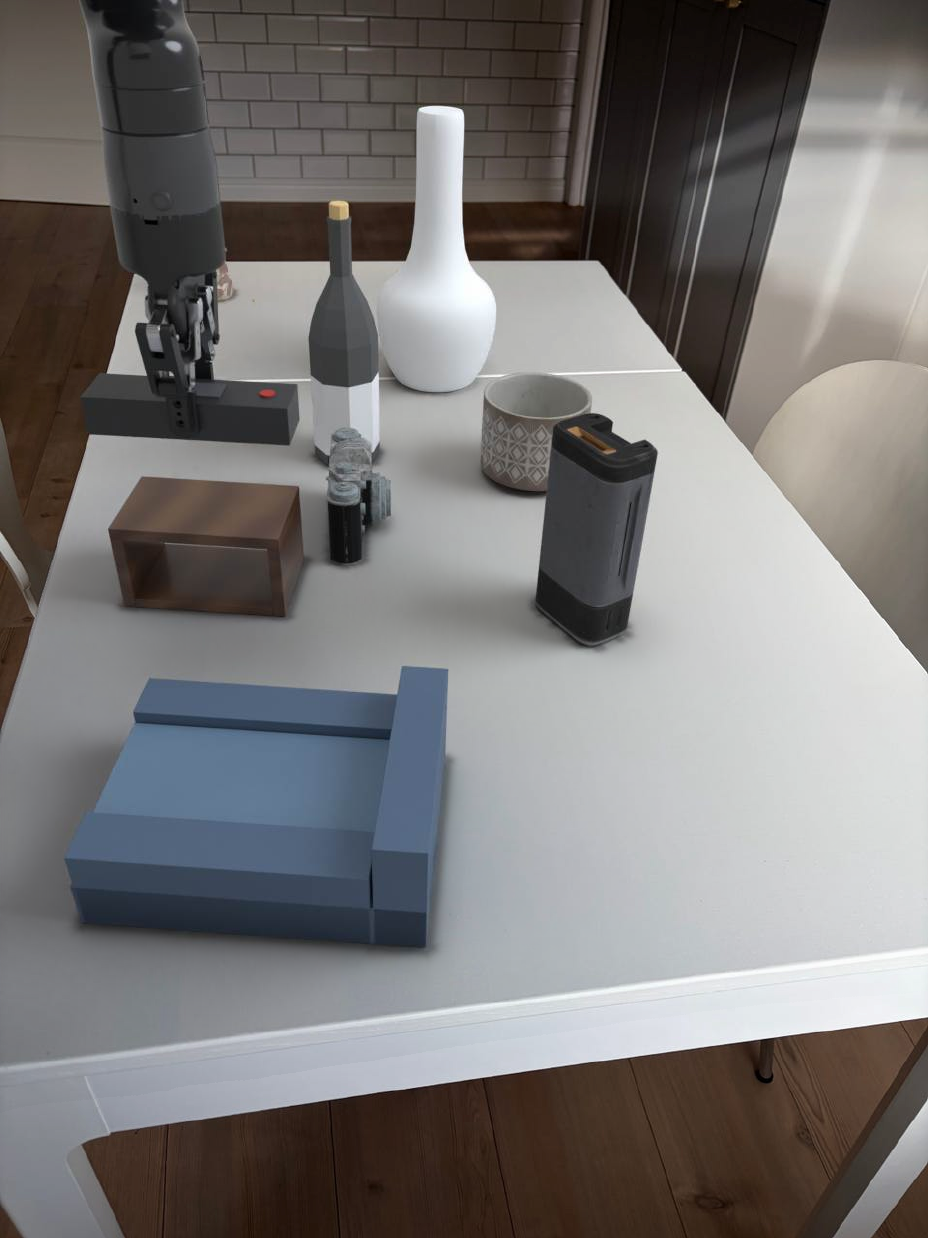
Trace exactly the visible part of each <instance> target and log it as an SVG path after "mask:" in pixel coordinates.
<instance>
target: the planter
mask: <svg viewBox="0 0 928 1238" xmlns="http://www.w3.org/2000/svg"><path fill="white" fill-rule="evenodd" d="M592 405H593V395H592V394H591V392H590V391H589V390H588V388H587V387H585V386H584V385H583V384H582V383H579V382H578V381H576V380H573V379H571V378H568V377H566V376H562V375H558V374H554V373H553V374H552V373H546V372H533V371H531V372H527V371H526V372H516V373H509V374H506V375H502V376H499V377H497V378H495V379H492V380H491V381H490V382H488V383H487V384H486V386H485V387H484V390H483V404H482V418H481V419H482V421H481V438H480V439H481V440H480V458H479V462H480V463H479V464H480V468H481V470H482V471H483V472H484V474H485V475H486V476H487V477H488V478H489V479H491V480H492V481H494V482H496V483H498V484H500V485H502V486H505V487H507V488H511V489H514V490H515V489H516V490H520V491H529V492H547V483H548V473H549V463H550V453H551V444H552V434H553V427H554V426H555V425H556V424H557V423H559V422H560V421H563V420H566V419H569V418H573V417H576V416H580V415H583V414H588V413H592V412H591V411H592Z"/></svg>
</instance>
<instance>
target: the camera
mask: <svg viewBox="0 0 928 1238" xmlns="http://www.w3.org/2000/svg"><path fill="white" fill-rule="evenodd" d="M327 467H328V475H327V476H325V480H326V481H328V482H327V491H326V501H327V517H328V519H327V520H328V534H329V536H328V537H329V538H328V539H329V556H330V557H329V560H330V561H331V562H332V563H334V564H337V565H343V566H346V565H349V566H350V565H354V564H358V563H359V562H361V561H362V559H363V558H362V557H363V534H365V529H366V527H368V526H373V525H374V524H381V522H382V520H386V519H387V517H391V516H392V491H391V487H392V486H391V479H389V478H387V479H386V477H385V476H382V475H381V473H380V472H373V463H372V445H371V443H370V442H369V441H368V440H366V439H365V438H361V434H359V433H358V431H357V430H356V429H354V428H340V429H338V430H336V431H335V433H333V434H331V445H330V458H328V466H327Z"/></svg>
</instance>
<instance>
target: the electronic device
mask: <svg viewBox="0 0 928 1238" xmlns="http://www.w3.org/2000/svg"><path fill="white" fill-rule="evenodd" d="M613 425H614V422H613V420H612V419H611V418H609V417H607V416H606V415H603V414H601V413H597V412H591V413H588V414H583V415H580V416H576V417H573V418H569V419H566V420H563V421H560V422H559V423H557V424H556V425H555V426H554V427H553V434H552V444H551V453H550V463H549V473H548V483H547V491H545V492H546V493H545V503H544V505H545V506H544V513H543V523H542V533H541V542H540V550H539V551H540V553H539V561H538V562H539V563H538V570H537V571H538V572H537V579H536V581H537V582H536V592H535V600H534V601H535V605H536V607H537V608H538V609H539V610H540V611H541V612H543V614H545V615H546V616H547V617H549V619H551V620H552V621H553V622H554V623H556V624H557V626H559V627H560V628H561V629H563V630H564V631H565V632H566V633H568V634H569V636H571V637H572V638H574V639H575V640H576V641H578V642H579V643H581V644H583V645H585V646H590V647H591V646H593V647H594V646H596V645H600V644H603V643H605V642H608V641H610V640H612V639H614V638H615V639H616V638H617V637H619V636H622V635H624V634H625V633H626V632H627V629H628V624H629V621H630V614H631V608H632V603H633V597H634V591H635V585H636V579H637V574H638V569H639V563H640V558H641V557H640V556H641V552H642V545H643V541H644V534H645V530H646V529H645V528H646V523H647V516H648V511H649V506H650V500H651V494H652V488H653V483H654V477H655V471H656V467H657V460H658V454H659V451H658V449H657V448H656V447H655V445H654V444H652V443H651V442H649V440H647V439H641V440H638V441H635V442H629V441H628V440H627V439H625V438H623V437H621V436H619V435H618V434H616V433H615V432H613V427H614V426H613Z"/></svg>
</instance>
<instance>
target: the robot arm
mask: <svg viewBox="0 0 928 1238" xmlns="http://www.w3.org/2000/svg"><path fill="white" fill-rule="evenodd" d="M78 3H79V5H80V9H81V12H82V16H83V20H84V23H85V26H86V33H87V38H88V43H89V53H90V64H91V65H90V66H91V73H92V81H93V86H94V92H95V98H96V105H97V110H98V116H99V117H98V118H99V123H100V132H101V144H102V147H101V148H102V149H101V151H102V164H103V172H104V178H105V184H106V190H107V196H108V202H109V203H108V204H109V208H110V215H111V220H112V225H113V226H112V227H113V233H114V238H115V244H116V251H117V256H118V262H119V264H120V265H121V267H123V269H125V271H127V272H129V273H131V274H133V275H137V276H139V277H140V278H142V279H144V281H145V282H146V284H147V294H146V295H145V297H144V315H145V318H146V320H148V322H136V323H135V328H134V334H135V337H136V342H137V346H138V348H139V353H140V356H141V359H142V362H143V367H144V370H145V374H146V376H147V377H148V381H149V385H150V388H151V392H152V394H165V398H166V405H167V411H168V418H169V425H170V431H171V433H172V434H173V435H175V436H181V437H196V436H197V435H198V434H199V432H200V430H201V426H200V419H199V411H198V403H197V395H196V382H195V378H196V379H214V380H215V374H214V365H213V362H214V361H215V357H216V350H215V346H216V345H217V346H218V345H219V342H220V340H221V336H220V335H221V334H220V326H219V325H220V324H219V303H218V302H219V301H218V297H217V272H216V270H217V269H218V268H220V267H221V266H222V265H223V264H224V262H225V260H226V259H227V252H226V250H225V248H226V241H225V233H224V220H223V213H222V202H221V201H222V200H221V194H220V183H219V182H220V181H219V174H218V173H219V172H218V164H217V163H218V162H217V158H216V152H215V148H214V144H213V141H212V134H211V130H210V125H209V124H210V120H209V110H208V101H207V89H206V82H205V74H204V67H203V61H202V55H201V51H200V48H199V44H198V42H197V39H196V37H195V35H194V33H193V32H192V30H191V28H190V25H189V24H188V23H189V22H188V20H187V17H186V14H185V7H184V0H78ZM170 373H171V374H172V375H170Z"/></svg>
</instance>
